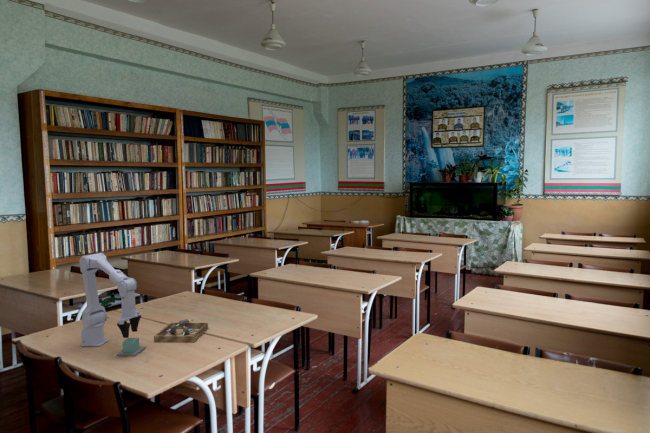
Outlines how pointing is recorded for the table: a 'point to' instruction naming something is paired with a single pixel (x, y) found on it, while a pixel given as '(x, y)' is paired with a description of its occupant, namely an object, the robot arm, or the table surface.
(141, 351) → the mat
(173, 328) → the molecule model
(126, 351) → the cube
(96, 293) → the robot arm
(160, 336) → the display frame
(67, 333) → the table surface
